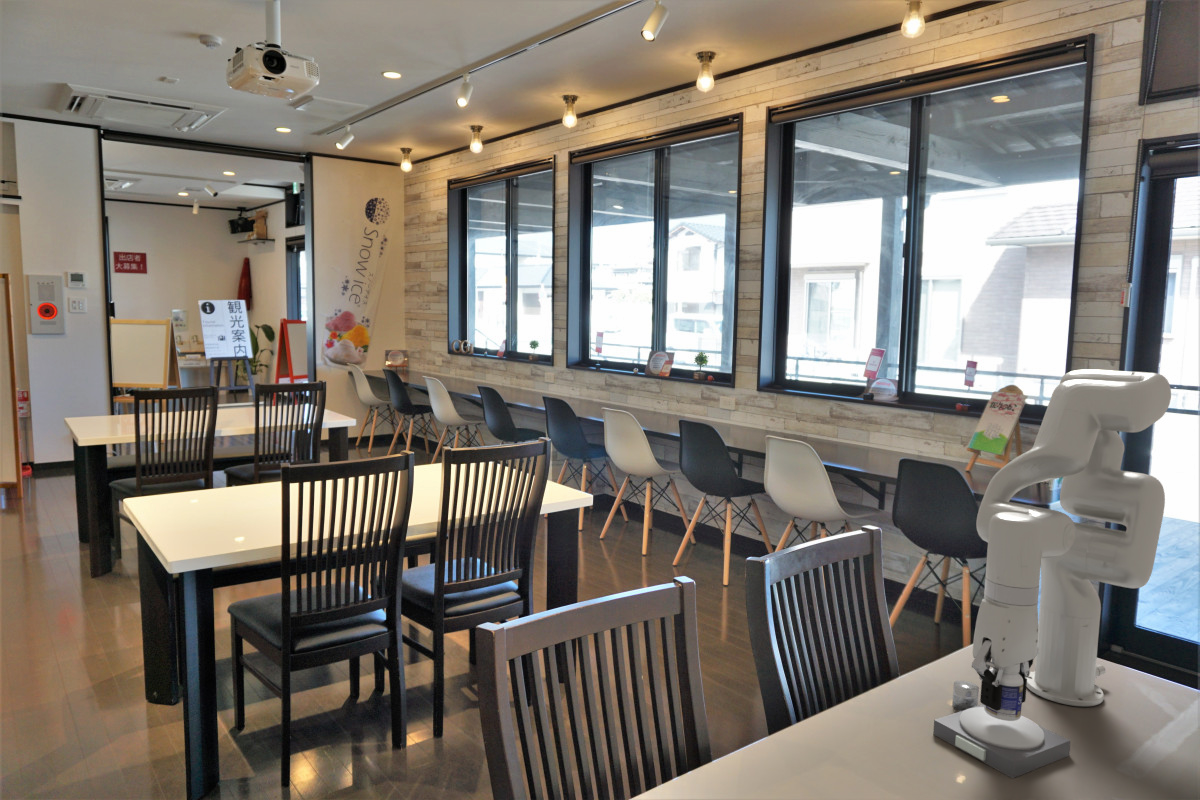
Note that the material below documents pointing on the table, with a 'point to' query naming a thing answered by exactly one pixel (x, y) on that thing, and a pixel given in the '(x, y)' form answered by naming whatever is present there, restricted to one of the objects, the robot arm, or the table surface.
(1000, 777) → the table surface
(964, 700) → the cylinder
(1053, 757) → the scale
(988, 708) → the pill bottle
